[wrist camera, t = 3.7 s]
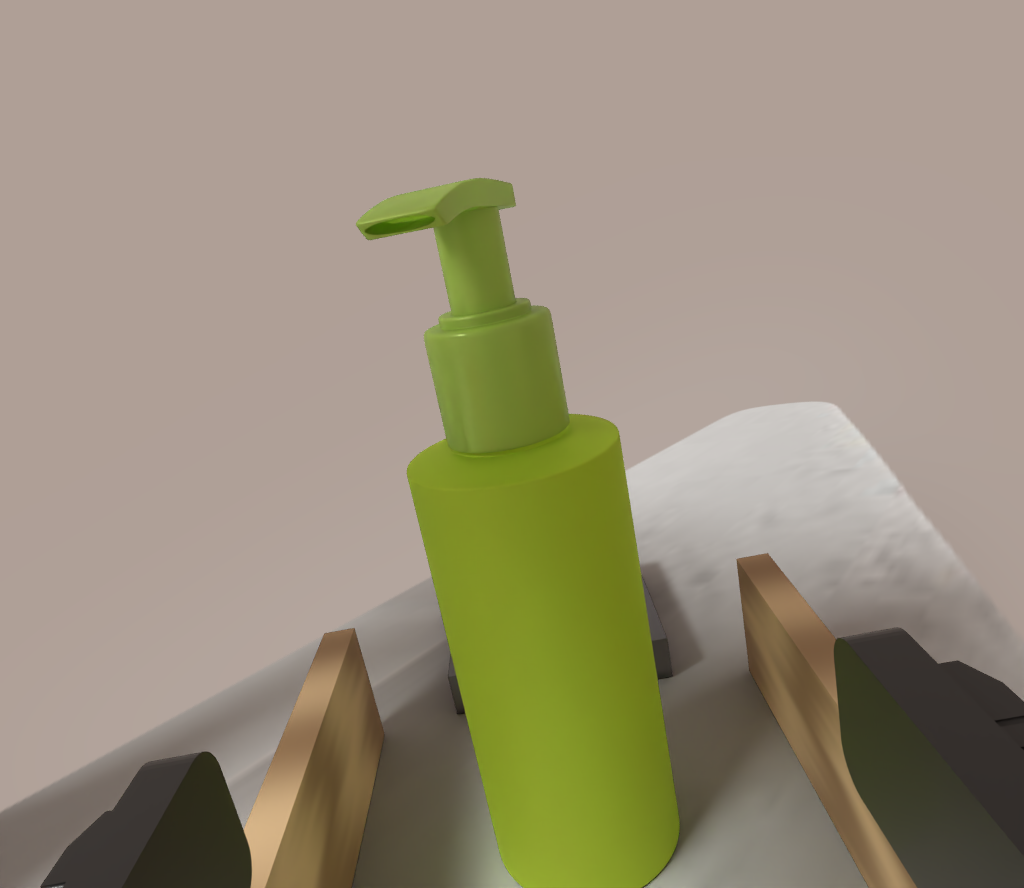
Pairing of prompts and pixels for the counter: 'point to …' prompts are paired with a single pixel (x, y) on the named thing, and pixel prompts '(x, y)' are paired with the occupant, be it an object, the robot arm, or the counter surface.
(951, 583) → the counter surface
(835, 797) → the oak channel
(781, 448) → the counter surface
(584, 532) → the soap dispenser
